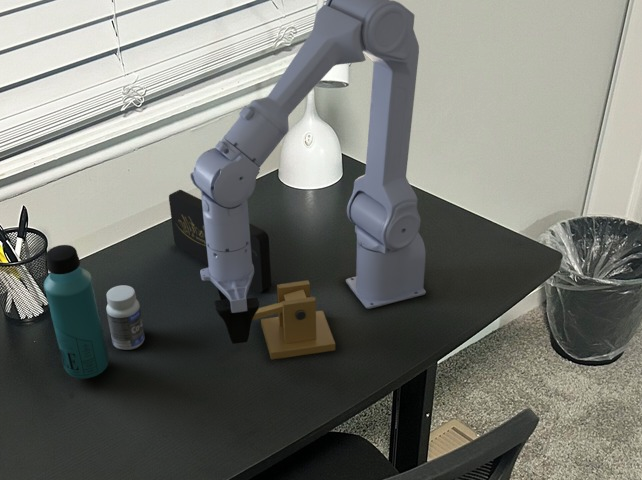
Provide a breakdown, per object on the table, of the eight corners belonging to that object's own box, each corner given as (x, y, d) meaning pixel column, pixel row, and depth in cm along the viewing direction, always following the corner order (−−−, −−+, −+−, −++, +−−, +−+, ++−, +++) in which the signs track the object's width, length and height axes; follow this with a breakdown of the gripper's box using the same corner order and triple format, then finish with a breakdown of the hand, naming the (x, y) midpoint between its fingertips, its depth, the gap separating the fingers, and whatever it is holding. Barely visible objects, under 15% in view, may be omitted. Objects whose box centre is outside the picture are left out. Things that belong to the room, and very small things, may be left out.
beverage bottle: (118, 361, 128) (95, 239, 116) (99, 392, 124) (73, 267, 111) (77, 355, 130) (49, 234, 118) (56, 385, 126) (25, 262, 113)
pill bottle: (140, 351, 130) (132, 303, 125) (108, 350, 131) (99, 302, 125) (148, 331, 133) (141, 283, 128) (117, 330, 134) (108, 282, 129)
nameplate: (271, 289, 139) (268, 232, 133) (262, 294, 138) (259, 237, 132) (183, 241, 152) (177, 187, 146) (174, 246, 151) (168, 192, 145)
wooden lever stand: (271, 359, 126) (268, 314, 121) (261, 325, 132) (258, 280, 127) (335, 350, 126) (335, 304, 121) (322, 316, 132) (322, 271, 128)
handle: (233, 339, 125) (229, 325, 123) (228, 317, 129) (224, 304, 127) (311, 317, 124) (308, 303, 123) (304, 297, 128) (301, 283, 126)
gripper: (191, 216, 123) (200, 299, 132) (203, 275, 112) (213, 361, 121) (243, 209, 124) (249, 292, 132) (260, 267, 112) (266, 353, 121)
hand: (235, 324), depth 126 cm, fingers open, 7 cm apart
